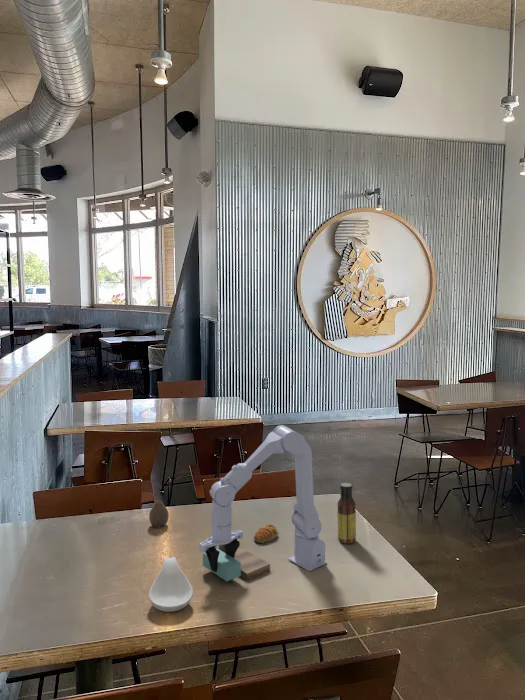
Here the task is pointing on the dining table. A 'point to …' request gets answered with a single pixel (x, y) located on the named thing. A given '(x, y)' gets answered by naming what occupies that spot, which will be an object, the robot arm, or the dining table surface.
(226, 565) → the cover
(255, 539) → the pastry
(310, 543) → the robot arm
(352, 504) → the sauce bottle
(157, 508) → the grey oval piece
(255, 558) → the base
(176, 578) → the spoon rest
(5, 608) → the dining table surface
